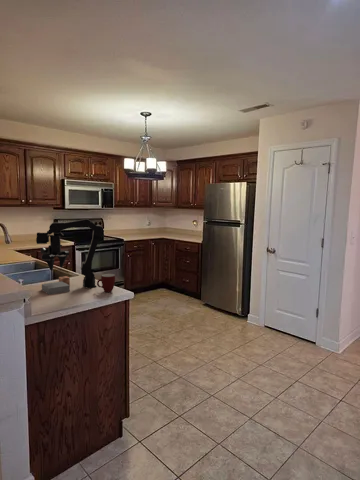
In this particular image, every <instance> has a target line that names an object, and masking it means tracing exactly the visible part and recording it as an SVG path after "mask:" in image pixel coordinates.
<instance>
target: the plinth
mask: <svg viewBox="0 0 360 480" xmlns="http://www.w3.org/2000/svg"><path fill="white" fill-rule="evenodd" d="M70 286H71V284H70V285H68V284H66V283H64V282H62V281H61V282H59V281H55V282H47V283H41V291H43V292H44V293H46V294H47V295H54V294H61V293H67V292H70V290H71V289H70Z"/></svg>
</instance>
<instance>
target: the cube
mask: <svg viewBox="0 0 360 480" xmlns="http://www.w3.org/2000/svg"><path fill="white" fill-rule="evenodd" d="M70 279H71V278H70V277H69V276H67V275H64V276H58V282H61V281H62V282H64V283H66V284H68V285H70V286H71V283H70Z"/></svg>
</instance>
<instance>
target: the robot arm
mask: <svg viewBox="0 0 360 480" xmlns="http://www.w3.org/2000/svg"><path fill="white" fill-rule="evenodd" d="M84 226H86V227H88V228H89V229H91V230H92V239H91V242H90V246H89V249H88V251H87V256H86V259H85V261H82V262H81V266H80V270H81V274H82V276H83V280H82V287H84V288H85V289H91V288H97V285H96V276H95V272H94V271H93V270H92V267H93V261H94V260H93V259H94V256H95V252H96V250H97V247H98V243H99V240H100V238H101V237H102V235H103V233H104V228H103V226H101V225H100V224H95V223H94V222H92V221H91V220H90V219H88V218H85V219H84V218H83V219H79V220H74V221H66V222H59V221H58V222H52V223H51V224H50V225H49V228H48V229H49V230H47V231H46V232H36V239H35V241H36V245H46V244H47V245H48V243H50V244H49V245H48V247H47V248H45V247H42V248H40V253H41V254H42V255H41V254H40V255H41V260H43V262H46V264H47V265H48V266H47V267H48V268H49V270H50V271H53V270H54V265H55V260H56V259H55V257H57V258H58V260H59V261H58V262H59V267H60V268H63V266H64V264H65V262H66V260H67V259H68V257H69V256H70V251H69V250H64V249H63V250H62V249H61V248H62V247H63V244H61V237H64V233H62V231H64V230H67V229H73V228H78V227H84Z"/></svg>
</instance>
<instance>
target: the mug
mask: <svg viewBox="0 0 360 480" xmlns="http://www.w3.org/2000/svg"><path fill="white" fill-rule="evenodd" d="M100 282H101V285H100V284H99V283H100ZM115 283H116V274H114V273H104V274H103V273H102V274H101V276H100V278H99V279H98V280H97V282H96V286H97V287H98V288H102V290H103V291H104V293H111V292H113V290H114V287H115Z"/></svg>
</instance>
